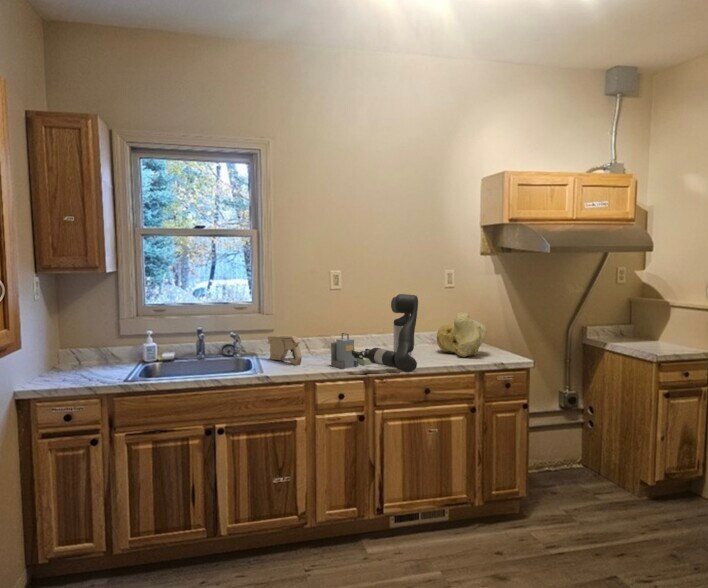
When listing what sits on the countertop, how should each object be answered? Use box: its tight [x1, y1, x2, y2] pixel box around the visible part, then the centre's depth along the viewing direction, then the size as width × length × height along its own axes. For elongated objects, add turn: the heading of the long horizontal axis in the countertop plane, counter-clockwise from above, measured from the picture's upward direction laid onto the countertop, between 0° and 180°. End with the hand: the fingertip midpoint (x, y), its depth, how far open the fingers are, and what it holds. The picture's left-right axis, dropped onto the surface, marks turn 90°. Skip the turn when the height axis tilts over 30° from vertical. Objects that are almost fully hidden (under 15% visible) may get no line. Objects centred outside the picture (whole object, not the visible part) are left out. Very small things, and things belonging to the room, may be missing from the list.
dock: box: [330, 341, 359, 370], centre depth 258 cm, size 10×10×12 cm
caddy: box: [335, 332, 355, 369], centre depth 257 cm, size 6×7×17 cm
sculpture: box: [436, 311, 487, 358], centre depth 286 cm, size 25×26×30 cm
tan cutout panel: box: [267, 335, 303, 366], centre depth 269 cm, size 24×3×15 cm, turn 47°
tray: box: [354, 352, 375, 366], centre depth 269 cm, size 12×13×3 cm
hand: (358, 351), depth 248 cm, fingers open, 8 cm apart
